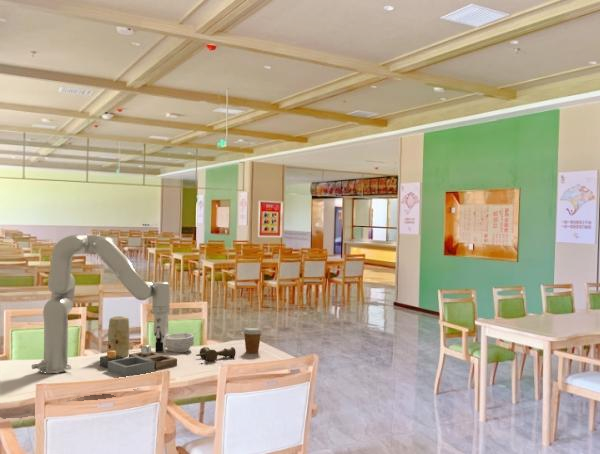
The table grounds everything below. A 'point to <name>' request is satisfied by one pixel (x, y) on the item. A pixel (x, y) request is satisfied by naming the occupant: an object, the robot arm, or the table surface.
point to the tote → (131, 366)
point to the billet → (163, 345)
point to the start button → (111, 354)
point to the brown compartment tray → (158, 360)
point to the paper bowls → (179, 342)
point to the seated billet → (145, 350)
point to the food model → (119, 335)
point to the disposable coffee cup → (252, 339)
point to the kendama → (215, 353)
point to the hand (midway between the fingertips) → (160, 349)
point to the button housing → (105, 360)
